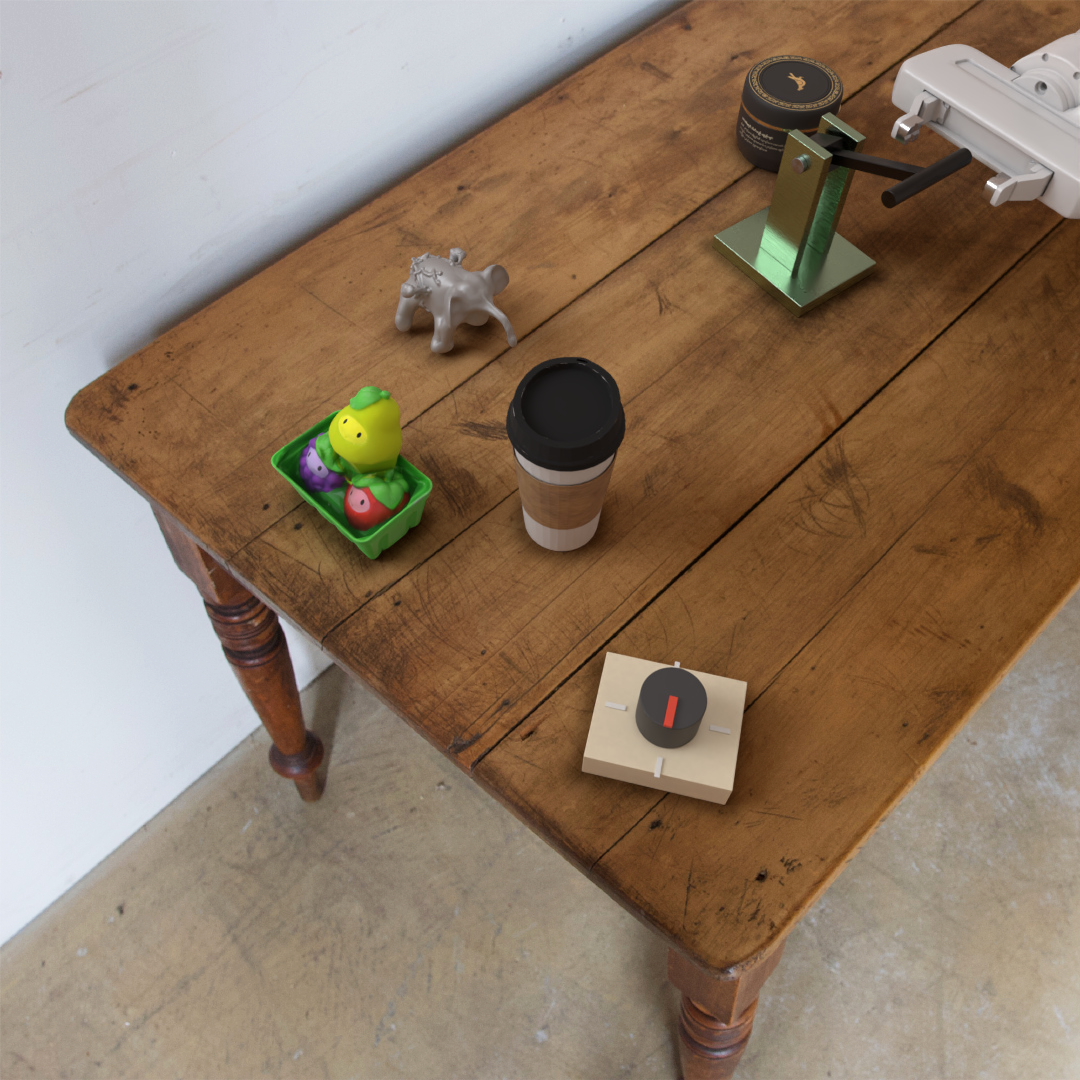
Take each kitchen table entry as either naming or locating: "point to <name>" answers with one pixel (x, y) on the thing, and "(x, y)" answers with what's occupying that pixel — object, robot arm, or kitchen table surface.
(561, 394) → the coffee cup
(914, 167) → the black lever handle
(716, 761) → the panel
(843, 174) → the green metal lever stand
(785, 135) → the jar
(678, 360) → the kitchen table surface
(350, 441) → the fruit basket
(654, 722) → the knob
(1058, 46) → the robot arm
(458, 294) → the gray elephant figurine
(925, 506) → the kitchen table surface
